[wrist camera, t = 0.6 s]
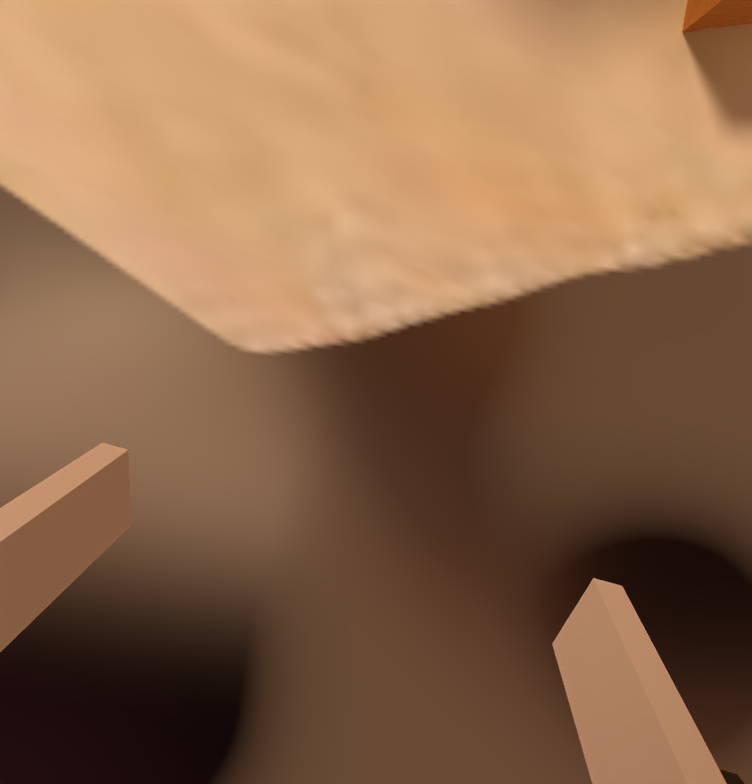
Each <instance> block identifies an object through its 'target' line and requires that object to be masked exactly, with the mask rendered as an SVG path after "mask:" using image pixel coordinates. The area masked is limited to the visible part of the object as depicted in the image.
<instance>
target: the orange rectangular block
mask: <svg viewBox="0 0 752 784" xmlns="http://www.w3.org/2000/svg"><path fill="white" fill-rule="evenodd" d="M748 23H752V0H688V1H687V7H686V13H685V19H684V25H683V30H682V32H688V31H696V30H703V29H711V28H718V27H726V26H733V25H741V24H748Z"/></svg>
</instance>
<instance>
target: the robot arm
mask: <svg viewBox="0 0 752 784" xmlns="http://www.w3.org/2000/svg"><path fill="white" fill-rule="evenodd" d="M130 525H131V507H130V480H129V458H128V450H127V449H123V448H119V447H115V446H112V445H109V444H104V443H101V444H100V445H98V446H97V447H95V448H94V449H92V450H90V451H89V452H87V453H86V454H84V455H83V456H81V457H80V458H78V459H76V460H75V461H73V462H72V463H70V464H69V465H67V466H65V467H64V468H62V469H61V470H59V471H58V472H56V473H55V474H53V475H51V476H50V477H48V478H47V479H46V480H44V481H42V482H41V483H39V484H38V485H36V486H34V487H33V488H31V489H30V490H28V491H27V492H25V493H23V494H22V495H20V496H19V497H17V498H16V499H14V500H12V501H11V502H9V503H8V504H6V505H5V506H3V507H2V508H0V652H1V651H2V650H3V649H4V648H5V647H6V646H7V645H8V644H9V643H10V642H11V641H12V640H13V639H14V638H15V637H16V636H17V635H18V634H19V633H20V632H21V631H22V630H24V629H25V628H26V627H27V626H28V625H29V624H30V623H31V622H32V621H33V620H34V619H35V618H36V617H37V616H38V615H39V614H40V613H41V612H42V611H43V610H44V609H45V608H46V607H47V606H48V605H49V604H50V603H51V602H52V601H53V600H54V599H55V598H56V597H57V596H58V595H60V593H62V592H63V591H64V590H65V589H66V588H67V587H68V586H69V585H70V584H71V583H72V582H73V581H74V580H75V579H76V578H77V577H78V576H79V575H80V574H81V573H82V572H83V571H84V570H85V569H86V568H87V567H88V566H89V565H90V564H91V563H92V562H93V561H94V560H95V559H96V558H98V557H99V556H100V554H102V553H103V552H104V551H105V550H106V549H107V548H108V547H109V546H110V545H111V544H112V543H113V542H114V541H115V540H116V539H117V538H118V537H119V536H120V535H121V534H122V533H123V532H124V531H125V530H126V529H127V528H128V527H129V526H130ZM552 645H553V648H554V652H555V655H556V659H557V662H558V666H559V669H560V673H561V676H562V680H563V683H564V687H565V690H566V694H567V697H568V701H569V704H570V708H571V711H572V715H573V718H574V721H575V725H576V728H577V732H578V736H579V739H580V742H581V746H582V750H583V753H584V756H585V760H586V763H587V767H588V770H589V774H590V777H591V781H592V784H744V783H743V781H742V780H741V779H740V778H739V776H738V775H737V774H734V773H730V772H727V771H724V770H720V769H719V768H718V766H717V765H716V763H715V761H714V759H713V757H712V755H711V753H710V751H709V749H708V747H707V746H706V744H705V742H704V740H703V738H702V736H701V734H700V732H699V730H698V728H697V727H696V725H695V723H694V721H693V719H692V718H691V715H690V713H689V712H688V710H687V708H686V706H685V704H684V702H683V701H682V699H681V696H680V695H679V693H678V691H677V689H676V687H675V685H674V683H673V681H672V680H671V678H670V676H669V674H668V672H667V670H666V668H665V666H664V664H663V662H662V661H661V659H660V657H659V655H658V653H657V651H656V649H655V647H654V645H653V643H652V642H651V640H650V638H649V636H648V634H647V632H646V630H645V628H644V626H643V625H642V623H641V621H640V619H639V617H638V615H637V613H636V611H635V610H634V608H633V606H632V604H631V602H630V600H629V598H628V596H627V594H626V592H625V591H624V589H623V587H622V586H620V585H616V584H613V583H609V582H606V581H602V580H598V579H595V578H594V579H593V580H592V582H591V583H590V585H589V586H588V588H587V589H586V591H585V593H584V594H583V596H582V598H581V599H580V601H579V602H578V604H577V605H576V607H575V609H574V610H573V612H572V613H571V615H570V616H569V618H568V620H567V621H566V623H565V624H564V626H563V628H562V629H561V631H560V632H559V634H558V636H557V637H556V639H555V640H554V642H553V644H552Z"/></svg>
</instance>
